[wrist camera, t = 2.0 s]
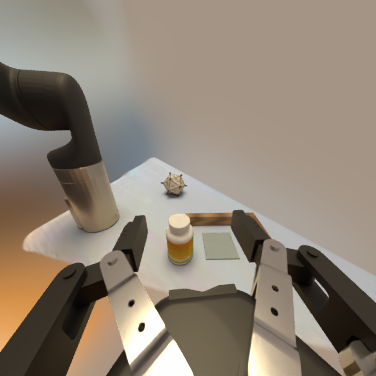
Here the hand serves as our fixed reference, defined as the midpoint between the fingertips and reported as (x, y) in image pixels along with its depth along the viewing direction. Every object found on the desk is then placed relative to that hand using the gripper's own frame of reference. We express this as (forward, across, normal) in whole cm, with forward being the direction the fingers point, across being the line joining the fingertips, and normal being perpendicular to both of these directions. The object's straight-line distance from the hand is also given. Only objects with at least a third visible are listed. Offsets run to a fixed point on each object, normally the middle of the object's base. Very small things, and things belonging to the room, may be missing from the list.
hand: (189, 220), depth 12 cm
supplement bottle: (+11, +1, +18) cm, 21 cm away
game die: (+37, +2, +16) cm, 40 cm away
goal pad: (+12, -8, +18) cm, 23 cm away
